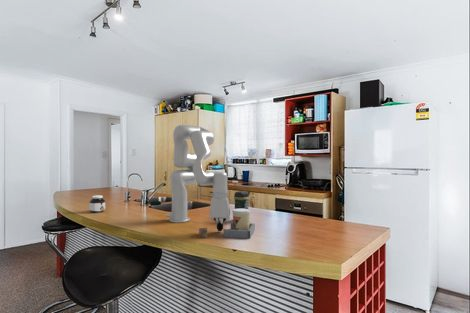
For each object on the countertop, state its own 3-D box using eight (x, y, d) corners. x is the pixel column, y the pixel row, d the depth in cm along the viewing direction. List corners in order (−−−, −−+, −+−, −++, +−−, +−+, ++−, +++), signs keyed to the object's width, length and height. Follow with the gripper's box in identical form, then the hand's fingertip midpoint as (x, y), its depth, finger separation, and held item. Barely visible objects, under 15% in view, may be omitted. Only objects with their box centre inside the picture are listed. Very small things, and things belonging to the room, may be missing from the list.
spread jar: (93, 213, 193) (93, 197, 193) (84, 212, 200) (84, 195, 200) (109, 211, 203) (109, 195, 204) (100, 209, 210) (100, 194, 210)
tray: (223, 236, 136) (223, 229, 136) (231, 228, 152) (231, 222, 152) (250, 238, 133) (250, 231, 133) (254, 230, 149) (254, 223, 149)
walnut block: (199, 238, 134) (199, 230, 134) (199, 236, 138) (199, 228, 138) (207, 238, 134) (207, 229, 134) (207, 235, 138) (207, 227, 138)
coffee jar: (242, 223, 166) (242, 192, 166) (231, 221, 170) (231, 191, 170) (251, 220, 174) (251, 190, 174) (240, 218, 178) (240, 189, 178)
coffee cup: (229, 231, 146) (229, 209, 146) (245, 229, 150) (245, 207, 150) (236, 236, 137) (236, 212, 137) (253, 234, 141) (253, 210, 141)
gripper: (204, 196, 143) (204, 231, 143) (232, 197, 140) (232, 233, 140) (208, 194, 150) (208, 228, 150) (235, 195, 147) (235, 229, 147)
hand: (220, 230), depth 145 cm, fingers closed
